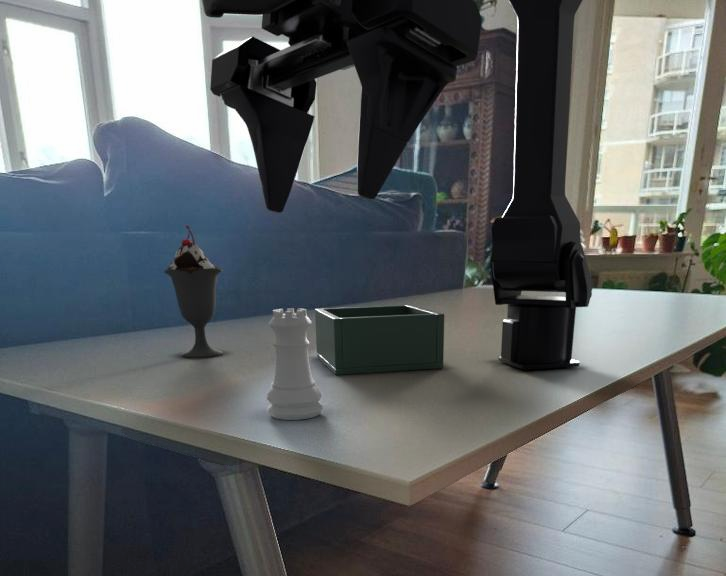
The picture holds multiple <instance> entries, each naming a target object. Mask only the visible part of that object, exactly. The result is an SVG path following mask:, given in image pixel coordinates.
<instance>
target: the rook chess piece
mask: <svg viewBox="0 0 726 576" xmlns="http://www.w3.org/2000/svg"><path fill="white" fill-rule="evenodd" d="M312 324H313V322H312V320H311V319H310V318H309V316H308V315H307V309H306V308H297V310H296V311H295V308H287V309H286V311H284V308H276V309H273V310H272V318H271V320H270V321H269V323H268V325H269V327H270V328H271V330H272V331H273V332H274V335H275V340H274V342H273V343H272V345H273V346H274V348H275V355H276V359H275V371H274V378H273V381H272V382H271V384H270V385H271V388H270V389H269V390H268V392H267V396H266V400H267V401H268V402H269V403H270V405H268V407H267V408H266V411H267V413H268V414H269V415H270V417H272V418H273V419H277V420H284V421H299V420H307V419H312V418H316V417H317V416H319V415H320V414H321V412H322V410H323V409H324V405H323V404H322V403H320V402H319V401H320V400H321V399H322V396H323V395H322V391H321V389H320V388H318V386H316V383H317V382H316V380H314V377H313V375H312V371H311V366H310V359H309V353H308V351H309V349H308V347H309V345H310V344H311V343H310V341H309V339H308V338H307V332H308V330H309V328H310V327H311V325H312Z"/></svg>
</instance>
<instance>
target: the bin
mask: <svg viewBox="0 0 726 576" xmlns="http://www.w3.org/2000/svg"><path fill="white" fill-rule="evenodd" d="M314 318H315V321H314V322H315V343H316V344H315V345H316V358H317V359H318V360H319V361H320V362H321V363H322V364H323V365H325V366H326V368H328V369H329V371H331V372H332V373H333V374H334V375H335V376H340V375H355V374H356V375H357V374H358V375H359V374H373V373H388V372H390V373H391V372H406V371H421V370H436V369H437V370H438V369H444V355H445V354H444V352H445V351H444V349H445V313H442V312H439V311H434V310H432V309H427V308H424V307H420V306H416V305H413V304H399V305H377V306H376V305H375V306H374V305H372V306H351V307H350V306H349V307H326V308H325V307H324V308H323V307H322V308H314Z"/></svg>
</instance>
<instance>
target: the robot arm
mask: <svg viewBox="0 0 726 576" xmlns="http://www.w3.org/2000/svg"><path fill="white" fill-rule="evenodd" d="M507 2H508V4H509V5H510V7H511V9H512V11H513V13H514V15H515V17H516V22H517V27H516V29H517V31H516V32H517V33H516V66H515V67H516V68H515V71H516V72H515V105H514V106H515V107H514V147H513V181H512V182H513V183H512V197H511V198H512V199H511V201H510V202H509V204H508V205H507V208H506V209H505V211H504V213H503V215H502V216H501V217H500V216H499V217H495V218H494V220H493V223H492V226H491V238H492V239H491V240H492V241H491V242H492V246H491V255H490V259H489V260H490V272H491V280H492V288H493V296H494V303H495V305H496V306H503V305H507V311H506V312H507V313H506V318H504V319H503V320H502V328H501V344H500V345H501V347H500V348H501V349H500V355H499V356H498V357H497V359H498V361H499V362H502V363H504V364H507V365H509V366H512V367H515V368H518V369H520V370H524V371H525V370H540V369H541V370H542V369H557V368H558V369H559V368H570V367H571V368H573V367H580V361H579V360H577V359H576V360H575V359H572V358H573V347H574V333H575V325H576V314H577V312H576V311H577V308H588V307H589V305H590V300H591V298H592V296H593V287H594V283H593V279H592V276H591V272H590V268H589V265H588V261H587V258H586V255H585V251H584V248H583V247H584V246H583V245H582V243H581V222H580V220H579V218H578V217H577V215H576V212H575V210H574V209H573V207H572V205H571V203H570V202H569V200H568V198H567V196H566V178H567V161H568V160H567V159H568V139H569V121H570V107H571V106H570V103H571V87H572V85H571V83H572V66H573V51H574V50H573V49H574V29H575V28H574V27H575V17H576V14H577V12H578V10H579V8H580V6H581V4H582V2H583V0H507ZM201 3H202V7H203V12H204V15H205V16H206V17H208V18H214V19H215V18H217V19H220V18H222V17H224V15H241V16H242V15H246V16H262V17H261V18H262V19H261V29H262V30H264V31H266V32H268V33H270V34H271V35H274V36H275V37H280V36H284V37H286V38H288V40H287V44H288V45H289V46H287V47H284V48H283V49H279V48H278V47H275V46H273V45H271V44H270V43H267V42H265V41H263V40H261V39H259V38H257V37H255V36H251V37H248V38H246V39H244V40H242V41H241V42H238V43H237V44H235V45H232V46H231V47H228V48H227V49H225V50H223V51H221V52H220V53H219V54H218V55H216V56H215V57H214V58H212V59H211V71H210V86H209V88H210V89H209V90H210V91H211V93H212V95H214V96H216V97H218V98H221V100H222V102H223V104H224V105H225V106H226V107H228V108H229V109H232V110H235V111H236V113H237V114H238V115H239V117H240V118H241V119H242V121H243V123H244V124H245V125H246V129H247V131H248V135H249V137H250V138H249V139H250V141H251V145H252V149H253V152H254V153H253V154H254V158H255V163H256V166H257V171H258V175H259V176H258V177H259V181H260V185H261V190H262V195H263V199H264V204H265V207H266V209H267V211H270V212H273V213H276V214H280V213H283V212H284V209H285V207H286V205H287V202H288V199H289V198H290V195H291V192H292V189H293V186H294V183H295V181H296V176H297V174H298V171H299V168H300V166H301V165H300V164H301V162H302V159H303V155H304V152H305V149H306V146H307V143H308V141H309V137H310V134H311V131H312V129H313V128H312V127H313V124H314V122H315V115H313V114H310V113H309V111H310V110H311V107H312V105H313V104H314V102H315V101H316V91H317V80H316V79H318V78H321V77H324V76H326V75H329V74H332V73H334V72H335V73H336V72H337V71H340V70H341V71H346V70H349V69H351V68H355V71H356V74H357V77H358V79H359V82H360V109H359V125H358V126H359V127H358V140H357V141H358V142H357V143H358V144H357V159H356V180H357V183H356V185H357V195H358V196H359V197H361V198H363V199H366V200H374V199H376V198H377V196H378V194H379V193H380V192H381V190H382V188H383V187H384V185H385V183H386V181H387V180H388V178H389V176H390V174H391V173H392V171H393V169H394V168H395V166H396V164H397V162H398V160H399V159H400V157H401V155H402V154H403V152H404V150H405V149H406V147H407V145H408V143H409V142H410V141H411V139H412V137H413V136H414V134H415V132H416V131H417V130H418V127H419V126H420V125H421V123H422V121H423V120H424V118H425V117H426V116H427V114H428V113H429V111H430V110H431V108H432V107H433V106H434V105H435V102H436V101H437V99H438V98H439V96H440V95H441V93H442V92H443V90H444V89H445V88H446V86H447V85H449V84H452V83H454V82H456V81H457V79H458V75H459V69H458V67H461V66H463V65H466V64H469V63H473V62H475V61H477V58H478V53H479V46H480V40H481V39H480V38H481V31H482V24H483V23H482V22H483V20H482V16H481V12H480V8H479V6H478V2H477V1H476V0H201ZM522 292H536V293H537V292H540V293H541V292H543V293H565V296H556V295H555V296H553V295H528V294H527V295H525V294H523V295H522Z"/></svg>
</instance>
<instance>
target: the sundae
mask: <svg viewBox="0 0 726 576" xmlns="http://www.w3.org/2000/svg"><path fill="white" fill-rule="evenodd" d="M185 228H186V229H187V230H188V235H187V237H186V238H184V239H182V241H181V246H179V248H177V250H176V252H175V254H174V255H175V256H174V258H173V261H172V262H171V263H170V266H168V267H167V269H165V270H164V273H165V275H168V276H169V278H171V282H172V285H173V288H174V292H175V295H176V301H177V305H178V308H179V311H180V314H181V317H182V318H183V319H184V320H185V321H186V322H187V323H189V325H190V324H191V326H192V327H193V328H194V336H195V337H194V338H195V340H194V344H193V347H192V348H191V349H189V350H187V351H185V352H181V356H182V357H184V358H188V359H189V358H192V359H193V358H194V359H201V358H213V357H219V356H221V355H223V353H224V352H223V351H222V350H219V349H216V348H215V349H214V348H213V347H211V346H210V345H209V343H208V341H207V336H206V329H205V328H206V325H207V324H208V323H209V322H210V321H211V320H212V319H213V317H214V316H215V314H216V305H217V282H218V276H219V275H220V274H221V273H223V269H222V268H221V267H219V266H215V265H214V264H213V263H212V262H211V261H209V259H208V257H206V254H205V253H204V251H203V250H202V249H201V247H199V246H198V245H197V244H196V243H195V242H196V241H195V238H194V234H193V232H192V231H191V230H190V229H191V226H190V225H188V224H187V225H185ZM190 236H191V239H192V240H191V239H189V238H190Z"/></svg>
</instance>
